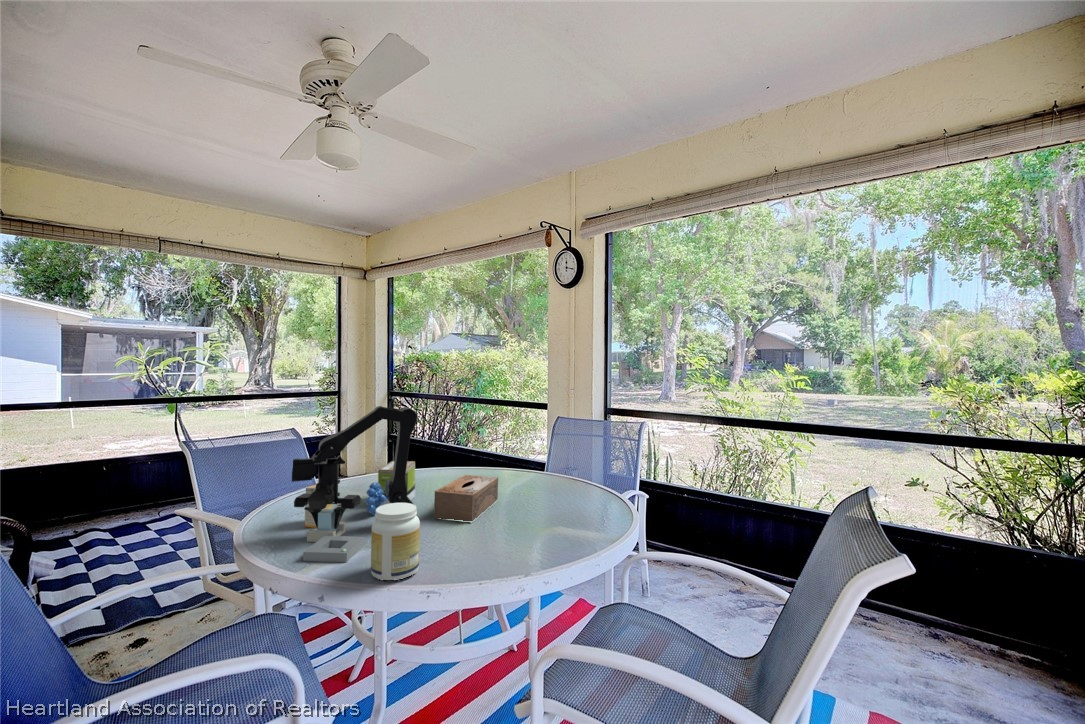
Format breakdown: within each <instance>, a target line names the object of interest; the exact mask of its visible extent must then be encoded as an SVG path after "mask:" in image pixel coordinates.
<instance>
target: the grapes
mask: <svg viewBox="0 0 1085 724" xmlns="http://www.w3.org/2000/svg"><path fill="white" fill-rule="evenodd" d="M368 488H369V489H367V491H366V494H367V496H368V497H367V498H365V504H366V505H367V506H366V510H367V512H368V513H369V514H370V515H372V516H375V514H376V509H377V508H378V507H380V505H381V503H384V502H385V501H386V499H387V498H386V497H385V495H382V494H383V493H384V492H383V490H382V489H381V485H380V484H379V483H378V482H372V483H371V484H370V485H369V486H368Z"/></svg>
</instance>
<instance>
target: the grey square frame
mask: <svg viewBox="0 0 1085 724" xmlns="http://www.w3.org/2000/svg"><path fill="white" fill-rule="evenodd" d="M346 532H347V522H345V521H340V522H339V525H338V527H337V529H336V530H318V529H309V530H307V531H306V542H309V543H313V542H314V543H316V542H317V541H318V540H319V539H321V538H322V537H323V536H342V535H344V534H345V533H346Z"/></svg>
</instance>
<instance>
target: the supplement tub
mask: <svg viewBox="0 0 1085 724" xmlns="http://www.w3.org/2000/svg"><path fill="white" fill-rule="evenodd" d="M417 514H418V511H417V505H416V504H414V503H413V504H410V503H390V504H385V505H382V506H380V507H378V508H377V509H376V514H375V515H374V517H375V519H373V521H372V523H371V536H370V537H371V539H370V540H371V542H370V543H371V545H370V573H371V575H372V577H374V578H375V577H376V578H378V579H377V580H379V579H383V580H394V579H401V578H405V577H408V576H411V575H412V576H414V575H415V574H416V573H417V572H418V571H419V567H420V543H421V542H420V538H421V537H420V536H421V534H420V533H421V531H420V529H421V525H420V524H421V521H420V519H419V517H418V516H417ZM414 573H415V574H414ZM413 574H414V575H413ZM412 576H411V577H412ZM376 578H375V579H376ZM383 580H382V581H383Z"/></svg>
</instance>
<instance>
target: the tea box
mask: <svg viewBox="0 0 1085 724" xmlns="http://www.w3.org/2000/svg"><path fill="white" fill-rule="evenodd" d="M393 467H394V460H391V461H390V462H388V463H386V464H385V465H383V466H381V467H380V468H378V470H377V473H378V475H377V479H378V480H377V483H379V484H380V485H381V489H382V490H383V492H384V490H385V488H386V480H387V481H390V479H391V477H392V474H393ZM405 481H406V487H407V497H408V498H409V499H410V500H411V501H412V500H413V499H414V498H415V497H416V461H415V460H414V461H413V460H411V461H409V460H407V467H406V475H405ZM382 495H385V497H386V494H385V493H383V494H382ZM386 498H387V497H386ZM385 504H390V502H389V500H388V499H386V501H385V502H384V503H381V505H380V506H382V505H385Z"/></svg>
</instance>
